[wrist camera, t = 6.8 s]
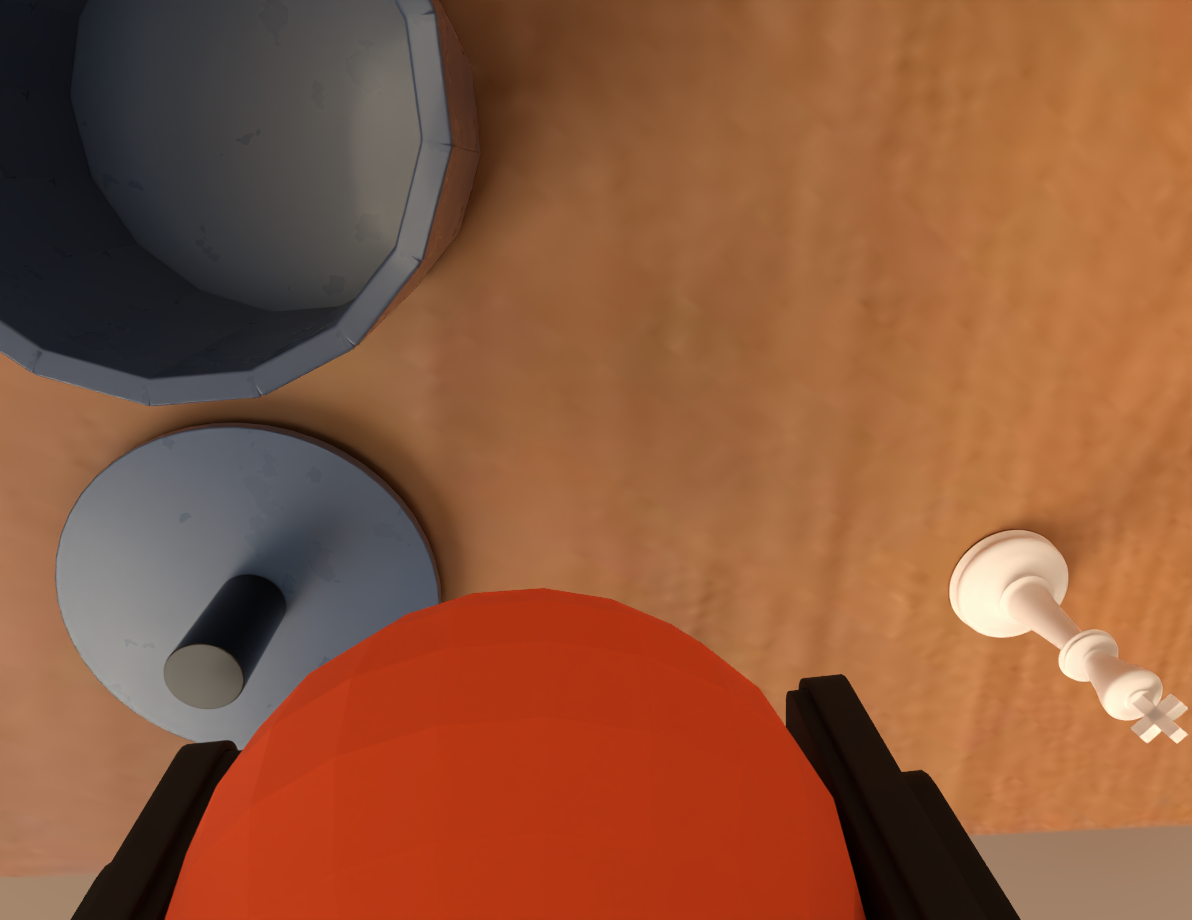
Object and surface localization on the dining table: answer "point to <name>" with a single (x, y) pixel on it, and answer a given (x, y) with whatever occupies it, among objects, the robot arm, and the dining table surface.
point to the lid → (233, 572)
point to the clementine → (521, 782)
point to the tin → (221, 185)
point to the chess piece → (1055, 625)
